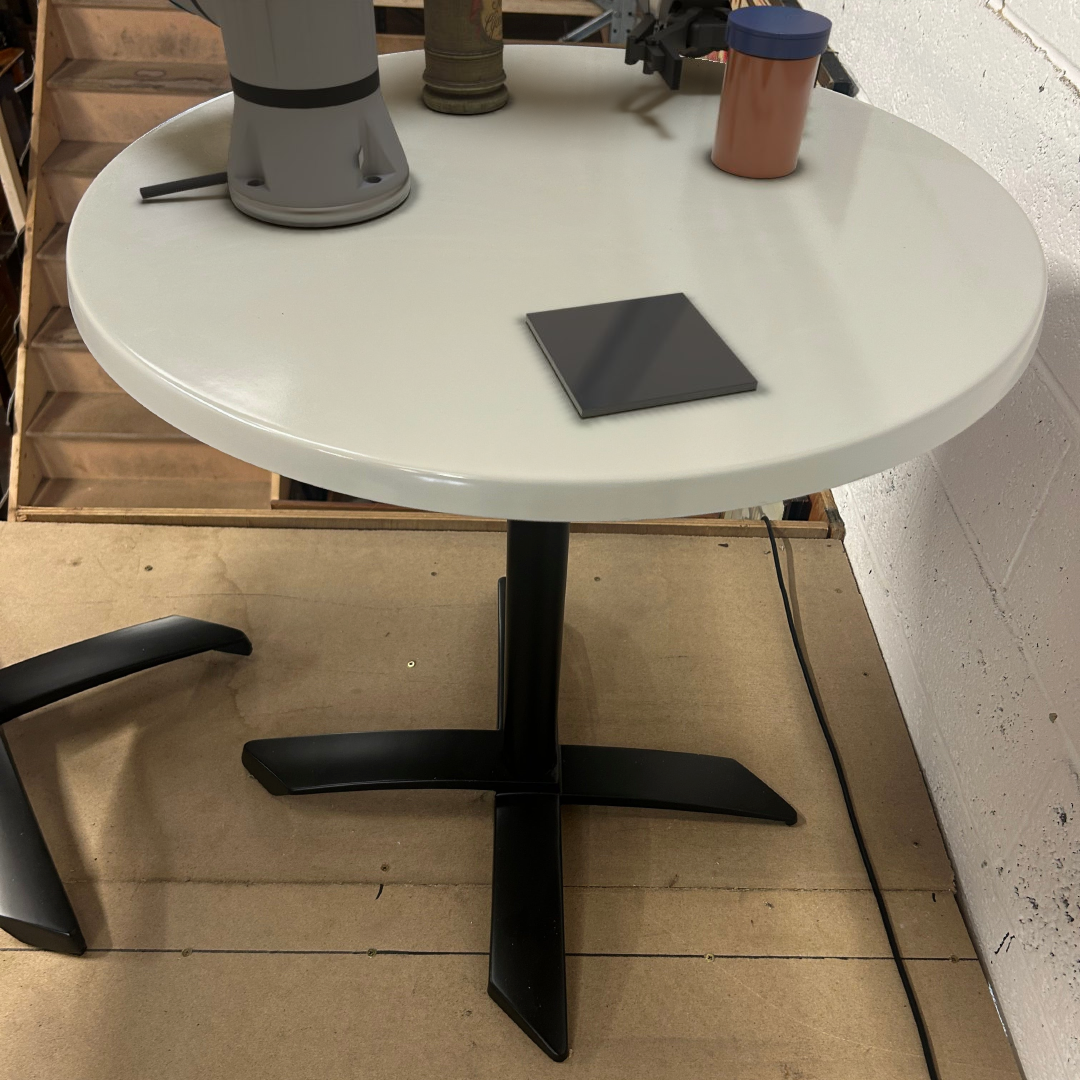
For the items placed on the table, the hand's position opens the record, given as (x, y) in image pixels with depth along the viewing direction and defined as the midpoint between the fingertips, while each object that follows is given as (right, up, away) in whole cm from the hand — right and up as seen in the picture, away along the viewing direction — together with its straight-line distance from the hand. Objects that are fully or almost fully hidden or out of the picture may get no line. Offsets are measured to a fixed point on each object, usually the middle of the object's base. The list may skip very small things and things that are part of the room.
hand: (746, 74), depth 87 cm
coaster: (-13, -32, -25) cm, 42 cm away
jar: (+1, -8, 0) cm, 8 cm away
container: (-28, +2, +10) cm, 29 cm away
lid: (+1, 0, -8) cm, 8 cm away
